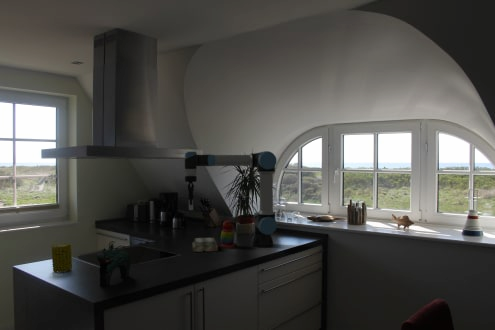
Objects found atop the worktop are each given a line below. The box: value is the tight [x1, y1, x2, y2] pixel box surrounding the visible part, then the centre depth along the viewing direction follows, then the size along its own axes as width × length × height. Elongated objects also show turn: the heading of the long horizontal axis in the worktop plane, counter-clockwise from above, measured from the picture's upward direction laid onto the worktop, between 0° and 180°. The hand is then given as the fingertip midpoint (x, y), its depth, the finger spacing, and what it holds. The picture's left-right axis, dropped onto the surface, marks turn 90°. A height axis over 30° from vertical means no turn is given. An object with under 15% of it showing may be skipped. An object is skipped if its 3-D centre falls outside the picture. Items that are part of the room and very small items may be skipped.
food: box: [51, 243, 73, 273], centre depth 209 cm, size 15×12×10 cm
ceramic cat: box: [97, 240, 131, 287], centre depth 190 cm, size 20×6×20 cm, turn 158°
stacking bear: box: [220, 219, 237, 249], centre depth 267 cm, size 11×10×18 cm
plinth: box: [192, 237, 219, 253], centre depth 261 cm, size 16×16×6 cm
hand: (190, 208), depth 250 cm, fingers open, 13 cm apart
